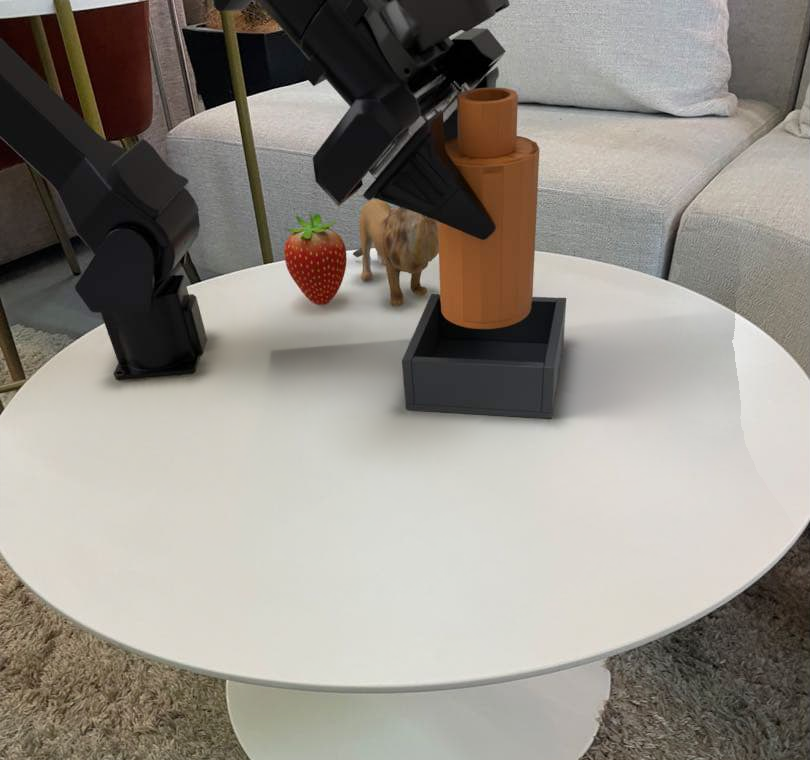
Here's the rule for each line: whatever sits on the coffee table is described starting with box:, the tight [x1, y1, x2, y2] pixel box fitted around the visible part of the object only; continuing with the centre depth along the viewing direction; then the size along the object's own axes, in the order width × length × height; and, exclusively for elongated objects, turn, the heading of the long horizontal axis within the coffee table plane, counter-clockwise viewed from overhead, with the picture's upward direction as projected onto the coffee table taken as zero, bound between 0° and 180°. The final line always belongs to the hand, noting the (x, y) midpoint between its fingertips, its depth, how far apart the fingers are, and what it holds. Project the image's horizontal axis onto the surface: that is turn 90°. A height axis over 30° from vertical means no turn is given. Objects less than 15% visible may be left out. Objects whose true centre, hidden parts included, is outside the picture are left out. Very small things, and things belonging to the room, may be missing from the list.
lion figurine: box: [352, 198, 439, 307], centre depth 71 cm, size 15×5×9 cm, turn 33°
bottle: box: [438, 87, 540, 329], centre depth 52 cm, size 6×6×14 cm
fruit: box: [283, 211, 348, 306], centre depth 69 cm, size 5×5×8 cm
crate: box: [401, 293, 567, 420], centre depth 59 cm, size 10×10×4 cm
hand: (506, 215), depth 52 cm, fingers closed on bottle, 6 cm apart
